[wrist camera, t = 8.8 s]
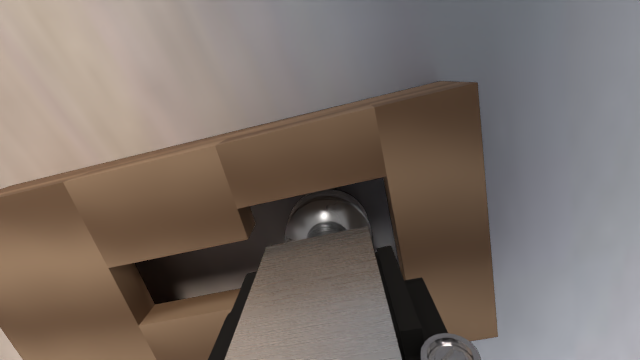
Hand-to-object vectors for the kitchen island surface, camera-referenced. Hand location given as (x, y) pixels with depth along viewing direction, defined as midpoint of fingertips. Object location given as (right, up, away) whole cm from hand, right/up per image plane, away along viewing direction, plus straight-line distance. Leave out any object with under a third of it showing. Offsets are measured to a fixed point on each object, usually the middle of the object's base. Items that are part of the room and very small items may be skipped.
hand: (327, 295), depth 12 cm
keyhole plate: (-5, +1, +7) cm, 8 cm away
